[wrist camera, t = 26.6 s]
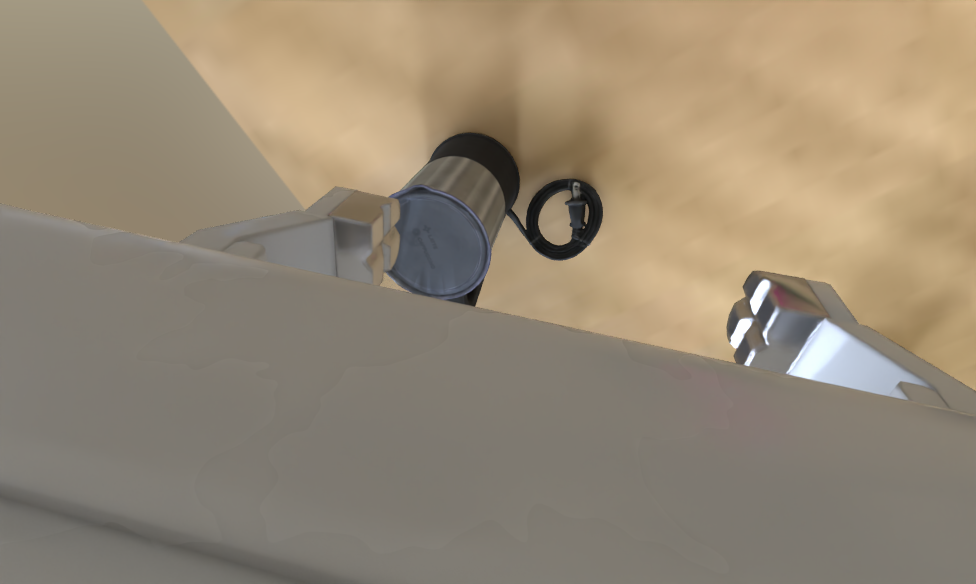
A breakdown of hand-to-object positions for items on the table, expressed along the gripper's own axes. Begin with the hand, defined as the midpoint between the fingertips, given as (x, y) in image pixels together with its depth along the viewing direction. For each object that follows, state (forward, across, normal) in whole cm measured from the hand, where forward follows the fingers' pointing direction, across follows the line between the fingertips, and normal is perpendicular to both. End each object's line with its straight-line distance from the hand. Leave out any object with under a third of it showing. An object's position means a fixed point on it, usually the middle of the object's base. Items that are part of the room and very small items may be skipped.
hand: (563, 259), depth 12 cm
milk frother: (+35, +5, +13) cm, 38 cm away
